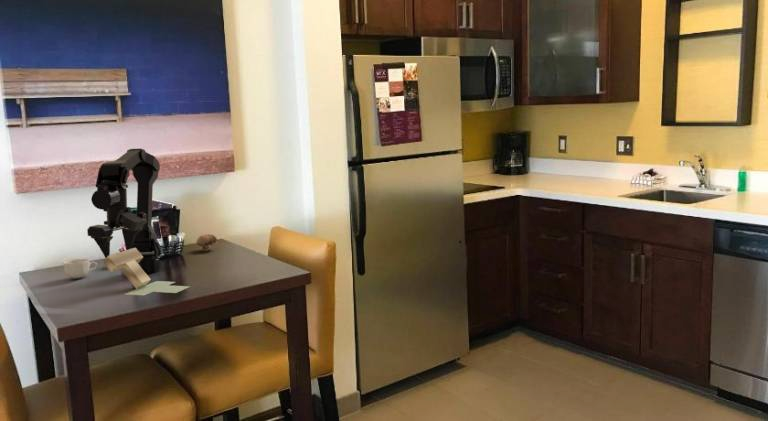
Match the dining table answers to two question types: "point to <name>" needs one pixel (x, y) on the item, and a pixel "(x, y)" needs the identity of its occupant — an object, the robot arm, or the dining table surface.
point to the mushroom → (206, 241)
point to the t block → (128, 266)
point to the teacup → (77, 267)
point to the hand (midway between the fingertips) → (118, 254)
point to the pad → (157, 288)
